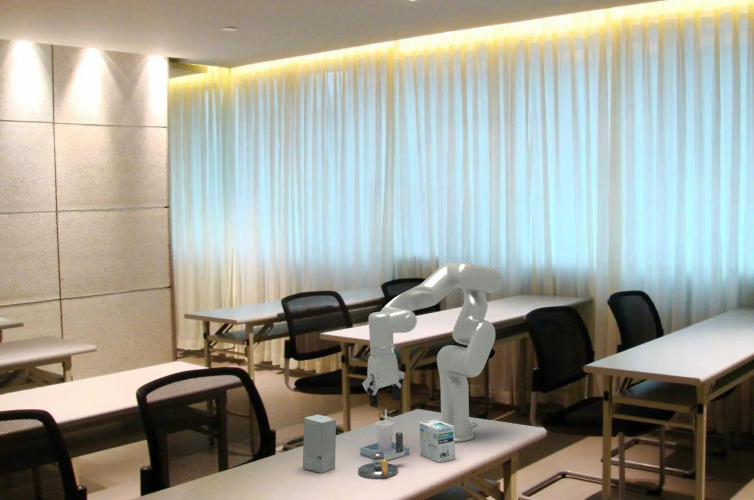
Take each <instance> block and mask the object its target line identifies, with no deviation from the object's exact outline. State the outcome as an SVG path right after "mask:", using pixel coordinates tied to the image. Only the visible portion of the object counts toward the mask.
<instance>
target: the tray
mask: <svg viewBox="0 0 754 500" xmlns="http://www.w3.org/2000/svg"><path fill="white" fill-rule="evenodd" d="M392 451H396V441H392V446H391V452H392ZM403 451H405V455H403V456H400V457H396V458H393V459H390V460H387V462H389V461H393V460H395V459H396V460H397V459H399V458H403V457H405V456H408V455H410V446H408V445H405V444H403ZM372 452H379V447H378V441H377V442H373V443H369V444H367V445H363V446H360V447H359V453H360V454H359V455H360V456H363V457H366V458H369V459H372V458H371V453H372ZM387 453H389V452H387ZM384 454H386V453H384Z"/></svg>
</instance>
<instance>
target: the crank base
mask: <svg viewBox="0 0 754 500" xmlns="http://www.w3.org/2000/svg"><path fill="white" fill-rule="evenodd" d="M357 473H358V476H360V477H362V478H365V479H372V480H381V479H389V478H392V477H394V476H396V475H397V474H398V473H399V468H398V466H397V465H395V464H392V463H389V462H388V461H387V459H381V462H380V463H376V462H371V463H367V464H362V465H361V466H359V467H358V468H357Z"/></svg>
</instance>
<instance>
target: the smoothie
mask: <svg viewBox="0 0 754 500" xmlns="http://www.w3.org/2000/svg"><path fill="white" fill-rule="evenodd" d="M387 412H388V411H387V409H384V420H379V421H376V422H374V428H375V432H376V438H377V442H378V447H379V452H383V453H387V452H391V446H392V442H393V436H394V435H393V432H394V427H395V422H394V421H392V420H391V421H390V420H388V419H387V418H388V414H387Z"/></svg>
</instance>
